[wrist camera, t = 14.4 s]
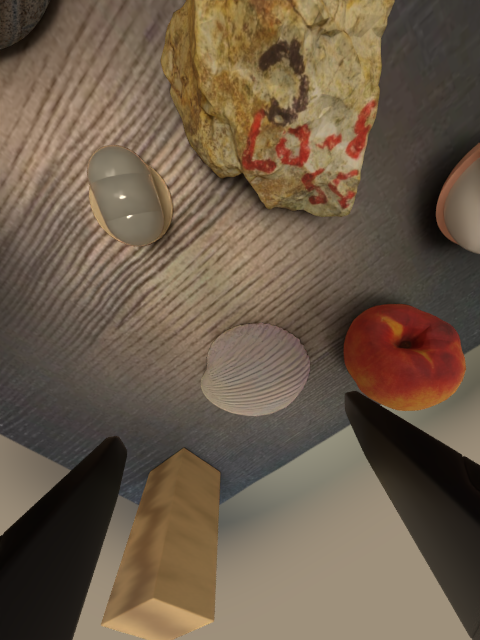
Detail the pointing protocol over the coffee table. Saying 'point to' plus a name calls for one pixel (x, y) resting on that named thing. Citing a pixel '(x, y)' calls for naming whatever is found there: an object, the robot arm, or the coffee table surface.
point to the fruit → (404, 357)
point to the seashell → (255, 369)
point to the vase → (19, 19)
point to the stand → (170, 554)
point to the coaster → (163, 197)
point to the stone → (125, 195)
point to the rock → (280, 93)
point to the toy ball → (462, 203)
